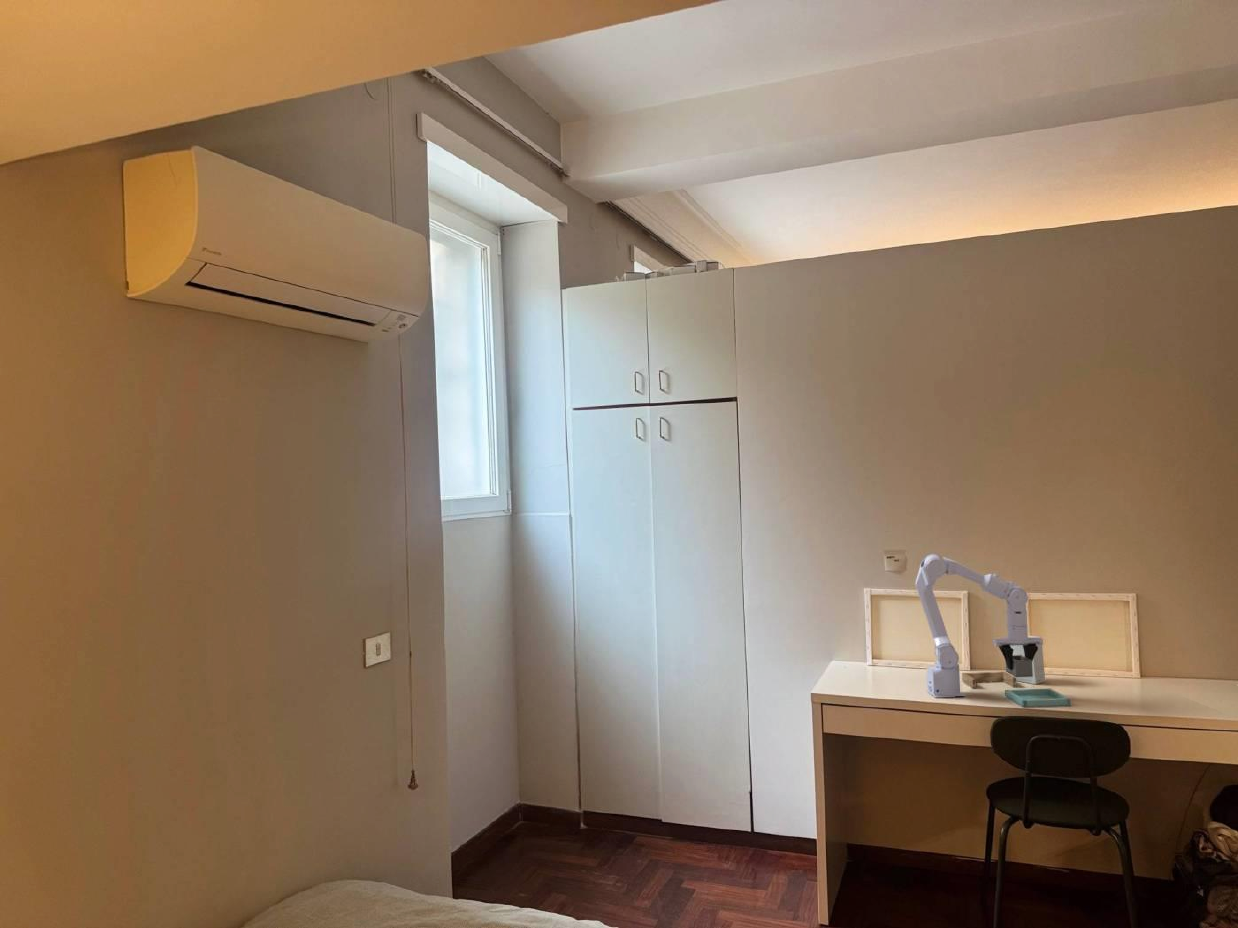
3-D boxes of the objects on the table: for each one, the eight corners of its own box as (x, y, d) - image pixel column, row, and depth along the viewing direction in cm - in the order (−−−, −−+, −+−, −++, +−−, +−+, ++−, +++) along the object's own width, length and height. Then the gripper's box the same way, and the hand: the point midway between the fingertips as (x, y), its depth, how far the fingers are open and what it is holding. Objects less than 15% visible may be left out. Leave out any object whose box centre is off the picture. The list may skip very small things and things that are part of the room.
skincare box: (1045, 681, 273) (1043, 636, 273) (1035, 685, 270) (1033, 639, 270) (1021, 677, 280) (1019, 633, 280) (1011, 680, 277) (1009, 635, 277)
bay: (972, 688, 269) (972, 679, 269) (962, 681, 277) (962, 672, 277) (1016, 687, 268) (1016, 677, 268) (1004, 680, 277) (1004, 671, 277)
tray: (1023, 707, 247) (1023, 700, 247) (1005, 696, 259) (1004, 689, 259) (1070, 705, 247) (1070, 699, 247) (1050, 694, 259) (1050, 688, 259)
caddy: (1016, 677, 255) (1015, 660, 255) (1005, 671, 262) (1005, 655, 262) (1032, 676, 255) (1032, 660, 255) (1021, 670, 262) (1021, 654, 262)
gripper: (1034, 621, 262) (1036, 664, 262) (988, 623, 262) (990, 666, 262) (1045, 625, 255) (1047, 669, 255) (998, 627, 255) (1000, 671, 255)
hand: (1019, 668), depth 258 cm, fingers closed on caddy, 5 cm apart
